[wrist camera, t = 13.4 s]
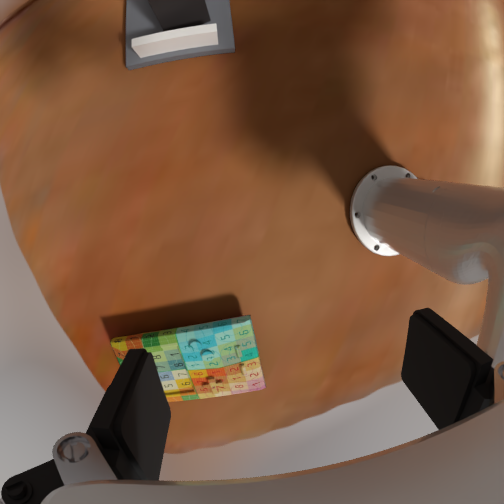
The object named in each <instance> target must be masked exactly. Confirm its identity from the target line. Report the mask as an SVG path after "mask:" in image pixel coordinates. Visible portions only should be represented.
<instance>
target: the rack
mask: <svg viewBox="0 0 504 504" xmlns="http://www.w3.org/2000/svg"><path fill="white" fill-rule="evenodd" d="M205 2H206V6H207V9H208V12H209V16H210V19H211V21H210V22H207V23H204V24H202V25H199V26H193V27H186V28H180V29H175V30H169V31H163V29H162V27H161V25H160V23H159V21H158V20H157V18H156V16H155V14H154V12H153V10H152V8H151V6H150V4H149V2H148V0H127V5H126V67H127V68H128V69H129V70H132V69H137V68H141V67H145V66H150V65H154V64H159V63H164V62H169V61H174V60H180V59H186V58H192V57H199V56H206V55H214V54H222V53H232V52H235V44H234V35H233V27H232V19H231V11H230V2H229V0H205Z"/></svg>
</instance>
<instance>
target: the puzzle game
mask: <svg viewBox="0 0 504 504" xmlns="http://www.w3.org/2000/svg"><path fill="white" fill-rule="evenodd" d="M110 343H111V346H112V348H113V350H114V353H115V355H116V357H117V359H118V362H119V364H120V365H121V363H122V362H123V360H124V358H125V356H126V354H127V352H128V350H129V349H140V348H145V349H146V350H147V352H151V353H152V355H153V358H154V361H155V365H156V368H157V371H158V374H159V377H160V380H161V383H162V386H163V389H164V392H165V395H166V398H167V401H168V402H173V401H184V400H193V399H202V398H210V397H218V396H225V395H231V394H238V393H244V392H250V391H256V390H261V389H264V388H266V383H265V378H264V374H263V370H262V365H261V361H260V357H259V352H258V348H257V343H256V339H255V335H254V330H253V326H252V321H251V317H250V315H245V316H240V317H234V318H229V319H224V320H219V321H213V322H208V323H202V324H196V325H191V326H185V327H179V328H173V329H167V330H160V331H154V332H147V333H140V334H137V335H130V336H123V337H116V338H112V340H111V341H110Z"/></svg>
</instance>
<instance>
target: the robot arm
mask: <svg viewBox="0 0 504 504" xmlns="http://www.w3.org/2000/svg"><path fill="white" fill-rule="evenodd" d="M371 176H373V178H372V179H371ZM405 176H406V177H405ZM355 213H357V215H356V216H355ZM350 220H351V225H352V228H353V231H354V233H355V235H356V237H357V238H358V240H359V241H360V242H361V243H362V245H363V246H364V247H366V248H367V249H369V250H370V251H372V252H373V253H375V254H379V255H382V256H394V255H398V254H401V255H403V256H405V257H407V258H409V259H411V260H413V261H414V262H416V263H418V264H420V265H422V266H424V267H425V268H427V269H429V270H431V271H432V272H434V273H436V274H438V275H440V276H442V277H443V278H445V279H447V280H449V281H451V282H454V283H457V284H474V283H478V282H481V281H483V280H485V279H487V278H488V290H487V297H486V306H485V311H484V316H483V321H482V325H481V330H480V334H479V338H478V342H477V345H476V344H474V343H473V342H472V341H471V340H469V339H468V338H467V337H466V336H464V335H463V334H462V333H461V332H459V331H458V330H457V329H456V328H454V327H453V326H452V325H451V324H449V323H448V322H447V321H445V320H444V319H443V318H442V317H440V316H439V315H438V314H436V313H435V312H434V311H433V310H431V309H430V308H424V309H420V310H416V311H415V312H414V313H413V315H412V316H411V317H410V320H409V328H408V335H407V342H406V348H405V355H404V361H403V366H402V372H401V377H402V380H403V382H404V383H405V384H406V386H407V387H408V389H409V390H410V391H411V393H412V394H413V395H414V396H415V398H416V399H417V401H418V402H419V403H420V405H421V406H422V407H423V409H424V410H425V411H426V413H427V414H428V416H429V417H430V418H431V420H432V421H433V422H434V423H435V425H436V427H437V428H438V429H439V430H438V431H436V432H433V433H431V434H428V435H426V436H423V437H421V438H418V439H415V440H413V441H410V442H407V443H404V444H402V445H399V446H396V447H393V448H390V449H387V450H384V451H381V452H377V453H374V454H371V455H367V456H364V457H360V458H356V459H353V460H349V461H345V462H341V463H337V464H332V465H328V466H324V467H318V468H313V469H309V470H303V471H297V472H292V473H285V474H278V475H270V476H262V477H253V478H242V479H230V480H207V481H159V475H160V469H161V464H162V459H163V454H164V448H165V443H166V438H167V433H168V428H169V423H170V418H171V411H170V407H169V404H168V401H167V398H166V395H165V392H164V389H163V386H162V383H161V380H160V377H159V374H158V371H157V368H156V365H155V361H154V358H153V355H152V353H151V352H147V350H146V349H145V348H140V349H129V350H128V352H127V354H126V356H125V358H124V360H123V362H122V363H121V365H120V367H119V369H118V371H117V373H116V375H115V377H114V379H113V381H112V383H111V385H110V386H109V387H108V388H107V390H106V392H105V394H104V397H103V398H102V401H101V403H100V405H99V407H98V409H97V411H96V413H95V415H94V417H93V419H92V421H91V423H90V425H89V428H88V430H87V432H86V433H81V432H74V433H70V434H67V435H65V436H63V437H61V438H60V439H59V440H58V441H57V442H56V443H55V445H54V446H53V451H52V453H53V458H54V459H52V460H50V461H48V462H46V463H44V464H41V465H39V466H37V467H34V468H32V469H30V470H27V471H25V472H23V473H20V474H18V475H15V476H13V477H11V478H9V479H8V480H7V481H6V482H5V483H4V485H3V487H2V491H1V495H2V498H1V499H0V504H504V187H493V186H481V185H472V184H463V183H453V182H444V181H434V180H424V179H418V178H417V177H416V176H415V175H414V174H412V173H411V172H410V171H408V170H406V169H405V168H402V167H399V166H382V167H378V168H375V169H373V170H371V171H370V172H368V173H367V174H366V175H365V176H364V177H363V178H362V179H361V180H360V181H359V183H358V184H357V186H356V188H355V190H354V192H353V195H352V198H351V204H350ZM374 246H375V248H374Z"/></svg>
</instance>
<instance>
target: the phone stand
mask: <svg viewBox="0 0 504 504" xmlns="http://www.w3.org/2000/svg"><path fill="white" fill-rule="evenodd" d="M148 2H149V4H150V6H151V8H152V10H153V12H154V14H155V16H156V18H157V20H158V21H159V23H160V25H161V27H162V29H163V31H169V30H175V29H180V28H186V27H193V26H199V25H202V24H204V23H207V22H210V21H211V19H210V16H209V12H208V9H207V6H206V2H205V0H148Z"/></svg>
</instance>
